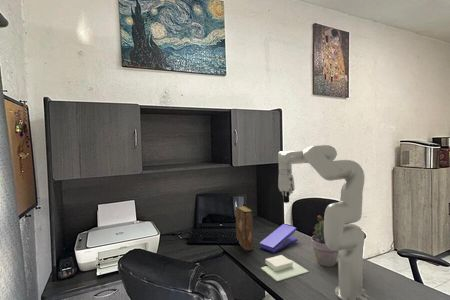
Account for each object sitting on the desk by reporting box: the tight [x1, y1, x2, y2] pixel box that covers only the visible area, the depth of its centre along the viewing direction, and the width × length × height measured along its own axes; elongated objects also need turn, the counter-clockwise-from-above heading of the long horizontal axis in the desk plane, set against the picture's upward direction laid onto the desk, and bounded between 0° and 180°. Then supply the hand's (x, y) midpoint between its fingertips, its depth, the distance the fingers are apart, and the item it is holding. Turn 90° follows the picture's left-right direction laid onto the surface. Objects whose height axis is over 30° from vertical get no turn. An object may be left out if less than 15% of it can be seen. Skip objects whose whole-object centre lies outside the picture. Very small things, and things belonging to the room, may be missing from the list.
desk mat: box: [260, 259, 310, 283], centre depth 138 cm, size 15×20×1 cm
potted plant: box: [310, 214, 339, 267], centre depth 144 cm, size 18×20×25 cm
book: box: [234, 205, 254, 251], centre depth 171 cm, size 16×6×25 cm, turn 21°
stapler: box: [259, 223, 298, 254], centre depth 172 cm, size 12×28×10 cm, turn 133°
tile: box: [264, 254, 293, 272], centre depth 142 cm, size 3×11×10 cm
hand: (286, 202), depth 154 cm, fingers closed
